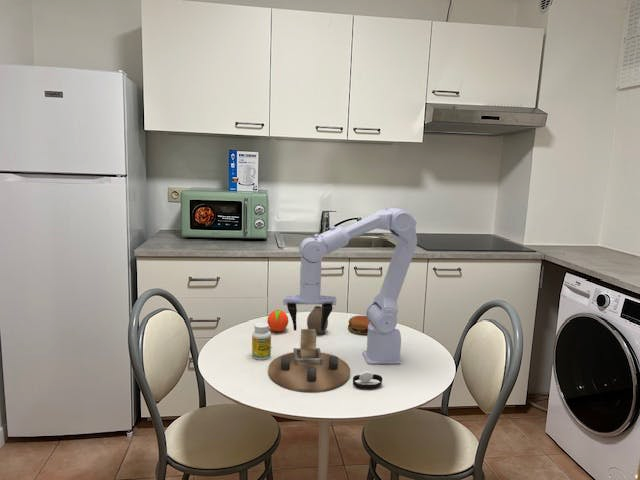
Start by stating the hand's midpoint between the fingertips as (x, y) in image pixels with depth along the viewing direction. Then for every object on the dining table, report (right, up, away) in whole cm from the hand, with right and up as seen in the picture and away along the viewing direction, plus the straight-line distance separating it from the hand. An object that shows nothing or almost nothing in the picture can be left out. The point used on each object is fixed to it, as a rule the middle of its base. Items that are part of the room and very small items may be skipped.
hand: (308, 329), depth 130 cm
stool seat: (0, -11, -4) cm, 11 cm away
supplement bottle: (-14, -9, +4) cm, 17 cm away
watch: (+15, -13, -10) cm, 23 cm away
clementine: (-11, -5, +23) cm, 26 cm away
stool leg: (0, -9, +2) cm, 9 cm away
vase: (+2, -6, +24) cm, 25 cm away
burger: (+17, -6, +27) cm, 33 cm away
